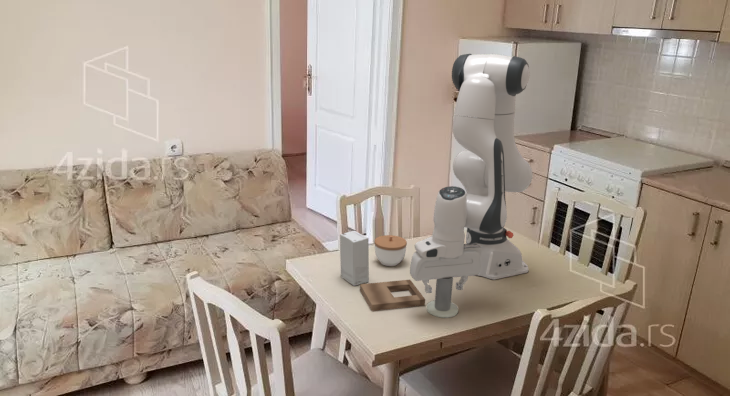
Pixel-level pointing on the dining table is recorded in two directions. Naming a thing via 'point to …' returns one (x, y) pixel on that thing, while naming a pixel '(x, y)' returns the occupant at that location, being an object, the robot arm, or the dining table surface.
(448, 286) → the grey cylinder
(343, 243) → the skincare box
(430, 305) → the saucer
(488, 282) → the dining table surface
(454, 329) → the dining table surface
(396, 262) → the lidded jar
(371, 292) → the pocket board
